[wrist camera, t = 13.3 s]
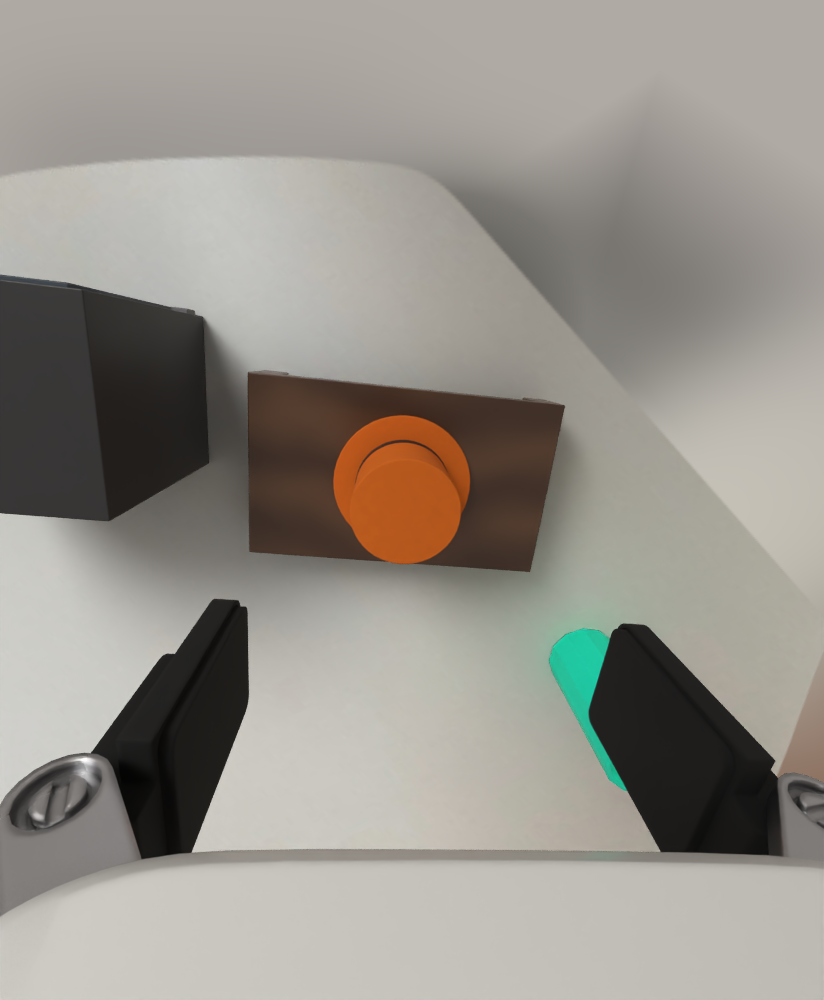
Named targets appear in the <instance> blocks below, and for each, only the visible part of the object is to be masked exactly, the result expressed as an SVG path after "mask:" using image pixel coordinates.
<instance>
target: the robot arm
mask: <svg viewBox="0 0 824 1000" xmlns="http://www.w3.org/2000/svg"><path fill="white" fill-rule="evenodd" d="M248 698H249V675H248V613H247V608H246V607H240V603H239V601H238V600H224V599H213V600H212V601H211V603H210V604H209V605H208V607H207V608H206V610H205V611H204V613H203V614H202V616H201V617H200V618H199V620H198V621H197V623H196V624H195V626H194V627H193V629H192V630H191V631H190V633H189V634H188V636H187V637H186V639H185V640H184V642H183V643H182V644H181V646H180V647H179V649H178V650H177V652H176V653H175V654H165V655H163V656H162V657H161V658H160V659H159V661H158V662H157V663H156V665H155V666H154V667H153V669H152V670H151V671H150V673H149V674H148V676H147V677H146V678H145V680H144V681H143V682H142V684H141V685H140V687H139V688H138V689H137V691H136V692H135V693H134V695H133V696H132V698H131V699H130V700H129V702H128V703H127V704H126V706H125V707H124V709H123V710H122V711H121V713H120V714H119V715H118V717H117V718H116V719H115V721H114V722H113V724H112V725H111V726H110V728H109V729H108V730H107V732H106V733H105V735H104V736H103V737H102V739H101V740H100V741H99V743H98V744H97V746H96V747H95V748H94V750H93V751H92V752H91V753H80V754H73V755H68V756H65V757H62V758H59V759H56V760H53V761H51V762H49V763H47V764H45V765H43V766H41V767H39V768H37V769H36V770H34V771H33V772H31V773H30V774H29V775H27V776H26V777H25V778H23V779H22V780H21V781H19V782H18V783H17V784H16V785H15V786H14V787H13V788H12V789H11V791H10V792H9V793H8V794H7V795H6V796H5V798H4V799H3V801H2V803H1V804H0V1000H824V783H823V782H821V781H819V780H816V779H814V778H812V777H809V776H807V775H802V774H798V773H785V774H783V775H781V776H780V777H779V778H777V776H776V775H775V774H774V773H773V772H772V771H771V768H772V766H773V764H774V762H775V760H774V759H773V758H772V757H771V756H770V755H769V754H768V752H767V751H766V750H765V749H764V748H763V747H762V746H761V745H760V744H759V743H758V742H757V741H756V740H755V739H754V738H753V737H752V736H751V735H750V734H749V732H748V731H747V730H746V729H745V728H744V727H743V726H742V725H741V724H740V723H739V722H738V721H737V720H736V719H735V718H734V717H733V716H732V715H731V714H730V712H729V711H728V710H727V709H726V708H725V707H724V706H723V705H722V704H721V703H720V702H719V701H718V700H717V699H716V698H715V697H714V696H713V695H712V694H711V693H710V691H709V690H708V689H707V688H706V687H705V686H704V685H703V684H702V683H701V682H700V681H699V680H698V679H697V678H696V677H695V676H694V675H693V674H692V673H691V671H690V670H689V669H688V668H687V667H686V666H685V665H684V664H683V663H682V662H681V661H680V660H679V659H678V658H677V657H676V656H675V655H674V654H673V653H672V652H671V650H670V649H669V648H668V647H667V646H666V645H665V644H664V643H663V642H662V641H661V640H660V639H659V638H658V637H657V636H656V635H655V634H654V633H653V632H652V630H651V629H650V628H649V627H647V626H646V625H639V624H621V625H620V626H619V627H618V629H614V631H613V632H612V634H611V638H610V641H609V644H608V647H607V651H606V654H605V657H604V661H603V664H602V667H601V670H600V674H599V677H598V680H597V683H596V687H595V690H594V693H593V697H592V700H591V703H590V706H589V714H588V715H589V720H590V723H591V726H592V727H593V729H594V731H595V733H596V735H597V737H598V738H599V740H600V742H601V744H602V746H603V747H604V749H605V751H606V753H607V755H608V756H609V758H610V760H611V762H612V764H613V766H614V767H615V769H616V771H617V773H618V775H619V776H620V778H621V780H622V782H623V784H624V786H625V787H626V789H627V791H628V793H629V795H630V796H631V798H632V800H633V802H634V804H635V806H636V807H637V809H638V811H639V813H640V815H641V816H642V818H643V820H644V822H645V824H646V826H647V827H648V829H649V831H650V833H651V835H652V836H653V838H654V840H655V842H656V844H657V846H658V847H659V849H660V851H661V852H617V851H539V850H406V849H294V850H231V851H212V852H197V853H191V852H192V850H193V847H194V845H195V842H196V839H197V837H198V834H199V832H200V829H201V826H202V824H203V821H204V819H205V816H206V813H207V811H208V808H209V806H210V803H211V800H212V798H213V795H214V793H215V790H216V787H217V785H218V782H219V780H220V777H221V774H222V772H223V769H224V767H225V764H226V761H227V759H228V756H229V754H230V751H231V748H232V746H233V743H234V741H235V738H236V736H237V733H238V730H239V728H240V725H241V723H242V720H243V717H244V715H245V712H246V709H247V705H248Z"/></svg>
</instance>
